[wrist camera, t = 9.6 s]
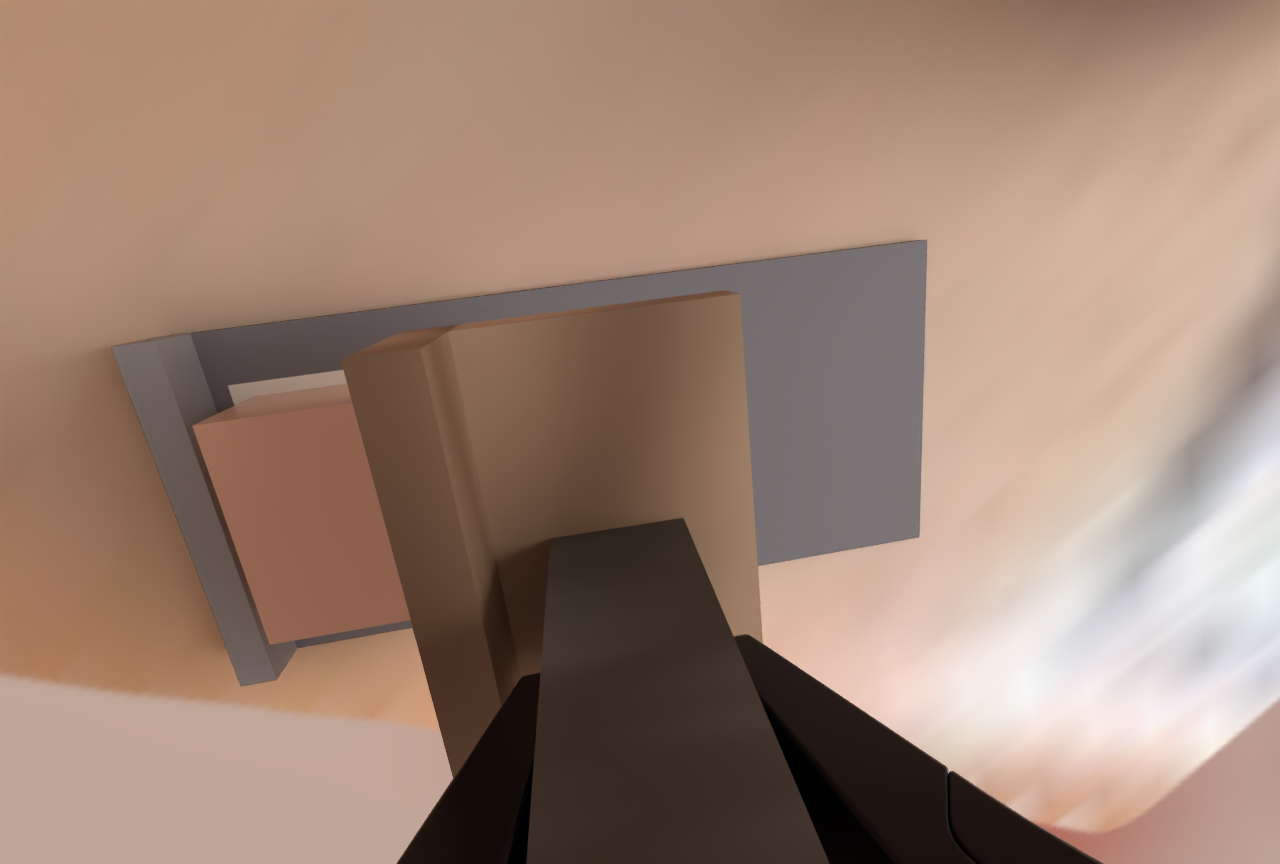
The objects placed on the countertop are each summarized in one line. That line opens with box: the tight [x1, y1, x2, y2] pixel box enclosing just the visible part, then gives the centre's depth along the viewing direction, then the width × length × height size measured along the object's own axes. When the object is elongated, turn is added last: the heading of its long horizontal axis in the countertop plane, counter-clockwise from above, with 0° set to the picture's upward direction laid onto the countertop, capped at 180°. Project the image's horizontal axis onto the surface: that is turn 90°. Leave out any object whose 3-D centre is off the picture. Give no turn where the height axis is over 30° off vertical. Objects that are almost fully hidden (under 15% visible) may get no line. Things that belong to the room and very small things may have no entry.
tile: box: [192, 384, 411, 645], centre depth 16 cm, size 6×6×3 cm
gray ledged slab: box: [111, 240, 927, 686], centre depth 18 cm, size 22×10×2 cm, turn 97°
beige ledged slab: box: [341, 290, 829, 864], centre depth 8 cm, size 6×10×8 cm, turn 7°
